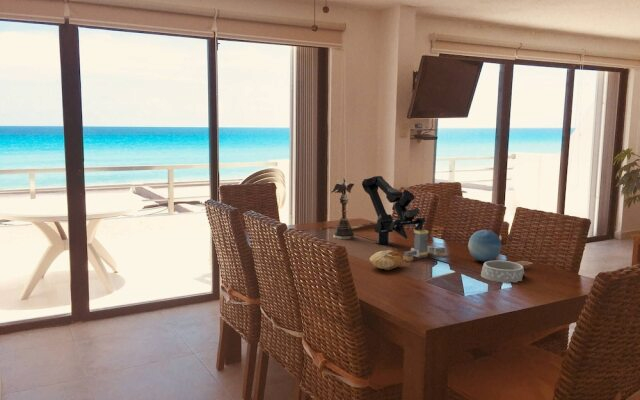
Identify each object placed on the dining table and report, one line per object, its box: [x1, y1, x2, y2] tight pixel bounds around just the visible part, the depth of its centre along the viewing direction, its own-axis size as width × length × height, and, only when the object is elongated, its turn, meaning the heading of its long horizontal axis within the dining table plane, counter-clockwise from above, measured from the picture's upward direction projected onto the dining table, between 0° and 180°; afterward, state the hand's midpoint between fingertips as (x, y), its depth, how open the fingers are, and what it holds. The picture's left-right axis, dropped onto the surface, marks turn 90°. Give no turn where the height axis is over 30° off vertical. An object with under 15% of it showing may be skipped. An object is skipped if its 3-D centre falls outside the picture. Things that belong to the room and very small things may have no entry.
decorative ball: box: [467, 229, 502, 263], centre depth 259 cm, size 15×15×15 cm
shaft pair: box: [402, 245, 447, 262], centre depth 267 cm, size 6×23×5 cm, turn 116°
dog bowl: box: [480, 259, 526, 284], centre depth 235 cm, size 17×18×5 cm
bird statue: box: [330, 177, 355, 240], centre depth 314 cm, size 17×13×35 cm
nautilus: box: [369, 249, 413, 271], centre depth 247 cm, size 8×21×15 cm
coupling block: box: [413, 228, 429, 259], centre depth 269 cm, size 5×5×13 cm
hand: (414, 237), depth 273 cm, fingers open, 9 cm apart
